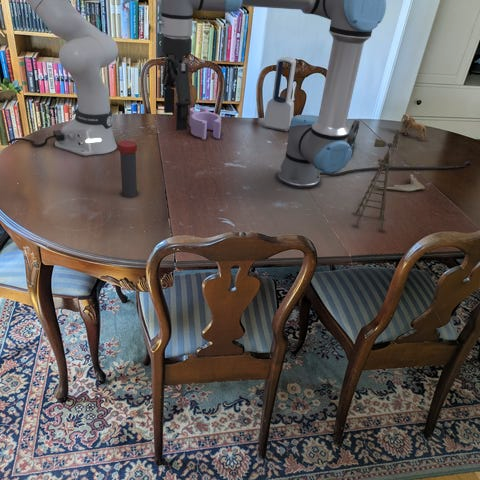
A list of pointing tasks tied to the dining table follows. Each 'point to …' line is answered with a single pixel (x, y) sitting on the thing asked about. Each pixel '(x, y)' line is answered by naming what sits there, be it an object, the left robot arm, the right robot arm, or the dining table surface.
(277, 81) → the electronic device
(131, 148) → the lid
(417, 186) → the jawbone
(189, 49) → the right robot arm
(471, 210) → the dining table surface
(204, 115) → the clip
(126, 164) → the dark grey bottle
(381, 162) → the miniature windmill
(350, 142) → the handheld gaming console
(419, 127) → the lion figurine
